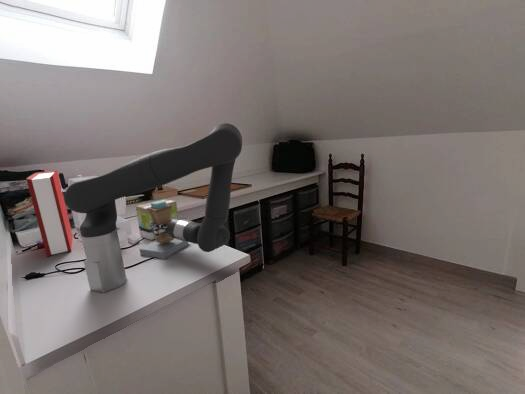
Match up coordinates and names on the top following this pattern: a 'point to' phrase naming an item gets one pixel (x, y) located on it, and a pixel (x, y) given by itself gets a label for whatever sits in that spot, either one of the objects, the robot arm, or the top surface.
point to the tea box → (146, 219)
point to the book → (50, 211)
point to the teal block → (158, 205)
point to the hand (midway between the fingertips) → (158, 223)
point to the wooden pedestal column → (161, 217)
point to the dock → (162, 248)
